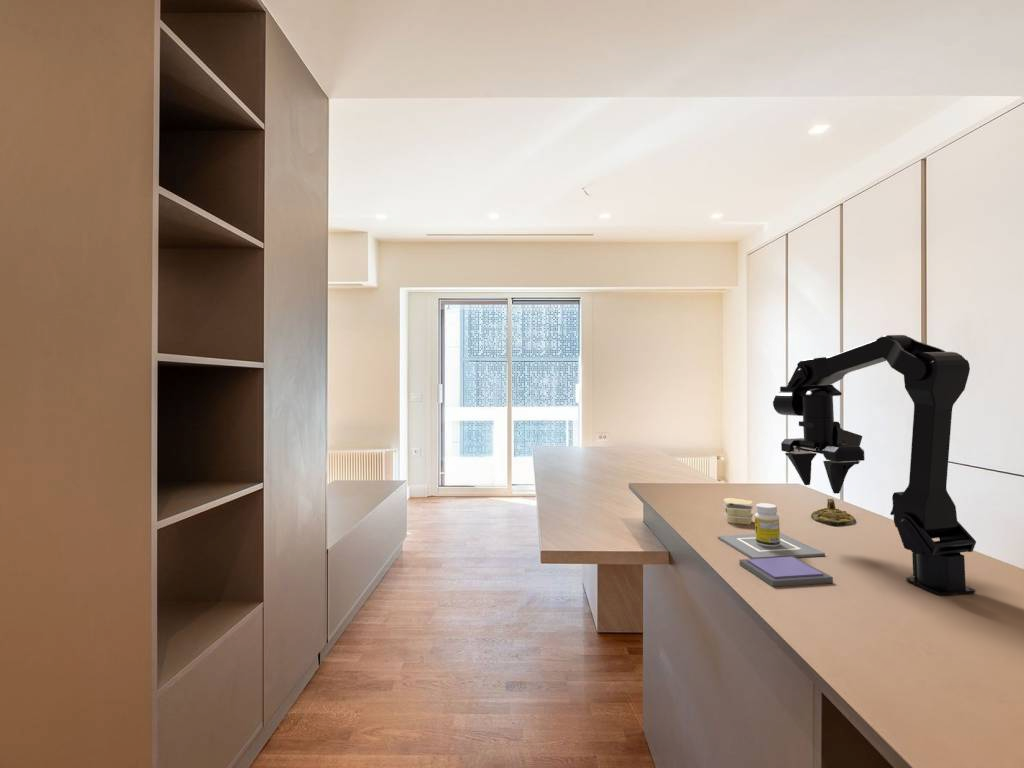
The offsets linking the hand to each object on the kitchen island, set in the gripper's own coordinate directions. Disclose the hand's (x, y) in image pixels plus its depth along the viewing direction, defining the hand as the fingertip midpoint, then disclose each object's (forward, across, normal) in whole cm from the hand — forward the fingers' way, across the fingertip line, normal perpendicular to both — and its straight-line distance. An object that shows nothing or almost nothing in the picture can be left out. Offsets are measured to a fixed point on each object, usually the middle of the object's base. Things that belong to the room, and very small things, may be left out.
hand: (821, 489), depth 108 cm
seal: (+13, +19, -16) cm, 28 cm away
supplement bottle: (+12, +1, +12) cm, 17 cm away
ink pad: (+12, -14, +18) cm, 26 cm away
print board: (+12, +1, +12) cm, 17 cm away
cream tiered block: (+13, +21, +8) cm, 26 cm away
